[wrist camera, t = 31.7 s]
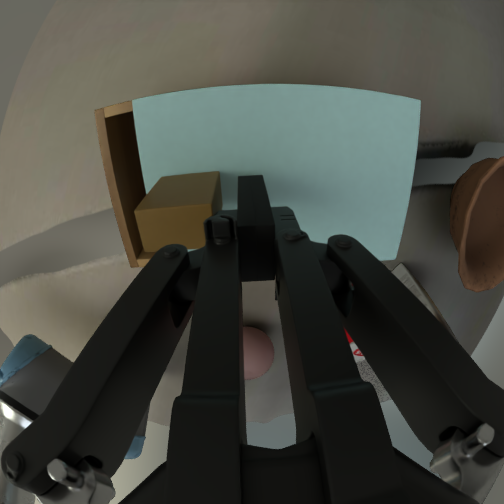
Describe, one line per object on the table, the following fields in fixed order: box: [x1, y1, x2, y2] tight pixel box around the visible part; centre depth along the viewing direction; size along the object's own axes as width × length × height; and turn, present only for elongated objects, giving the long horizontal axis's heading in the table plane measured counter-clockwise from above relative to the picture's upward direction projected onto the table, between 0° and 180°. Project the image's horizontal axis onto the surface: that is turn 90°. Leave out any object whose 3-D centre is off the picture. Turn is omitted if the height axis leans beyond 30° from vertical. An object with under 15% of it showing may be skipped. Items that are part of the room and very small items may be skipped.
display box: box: [95, 101, 157, 268], centre depth 25 cm, size 20×14×13 cm
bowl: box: [450, 156, 504, 292], centre depth 29 cm, size 22×22×11 cm
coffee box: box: [392, 263, 459, 343], centre depth 36 cm, size 9×6×16 cm
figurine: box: [243, 327, 274, 380], centre depth 42 cm, size 9×11×12 cm
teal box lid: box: [132, 84, 421, 261], centre depth 16 cm, size 20×14×6 cm
